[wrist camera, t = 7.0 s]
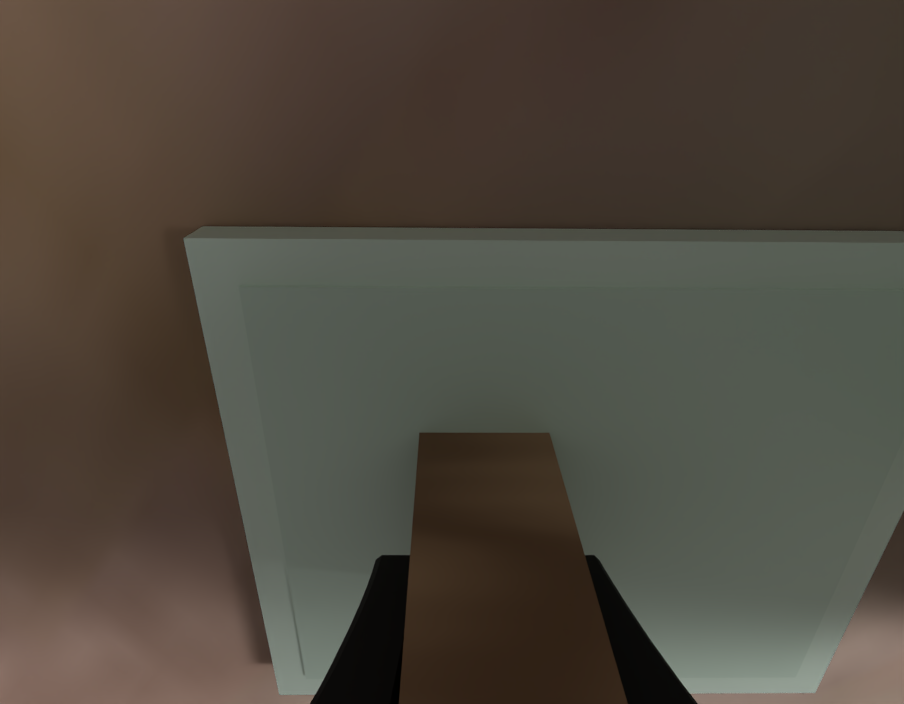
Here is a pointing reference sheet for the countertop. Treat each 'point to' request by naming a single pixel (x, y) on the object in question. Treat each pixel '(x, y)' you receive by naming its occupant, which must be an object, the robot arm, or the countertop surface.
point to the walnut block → (500, 580)
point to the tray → (572, 417)
